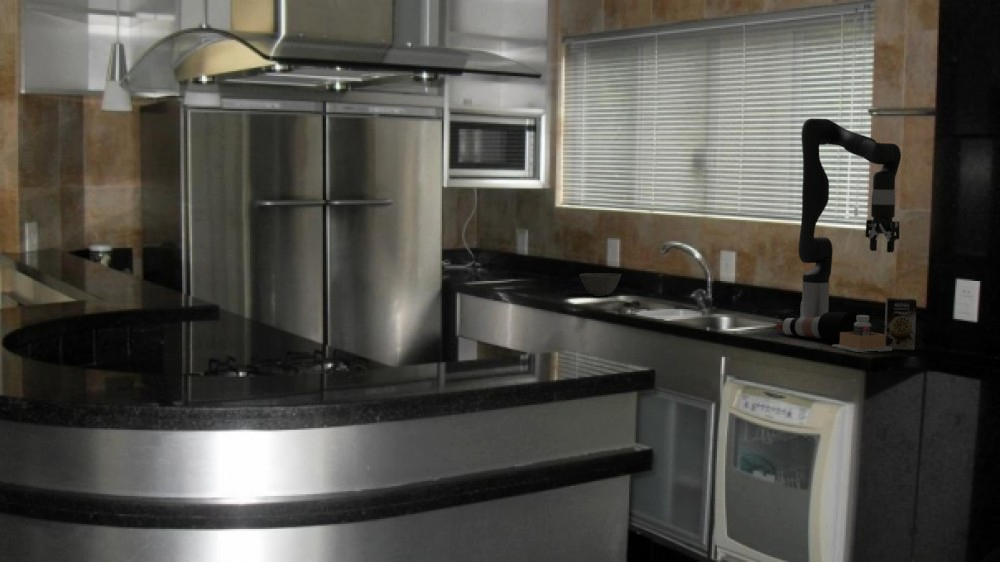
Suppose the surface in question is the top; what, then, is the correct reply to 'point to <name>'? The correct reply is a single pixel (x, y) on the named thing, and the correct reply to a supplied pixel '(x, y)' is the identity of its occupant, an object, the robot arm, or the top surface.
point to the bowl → (600, 282)
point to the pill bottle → (862, 326)
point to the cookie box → (900, 323)
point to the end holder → (862, 342)
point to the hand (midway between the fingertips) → (881, 251)
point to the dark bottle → (820, 325)
